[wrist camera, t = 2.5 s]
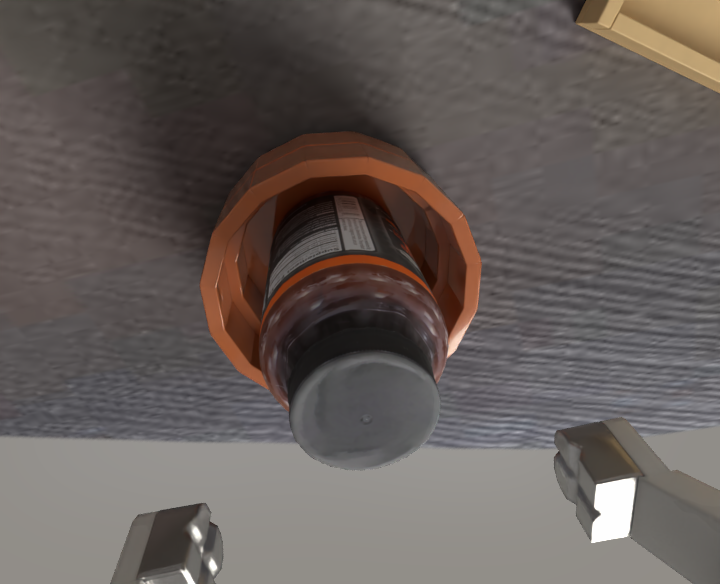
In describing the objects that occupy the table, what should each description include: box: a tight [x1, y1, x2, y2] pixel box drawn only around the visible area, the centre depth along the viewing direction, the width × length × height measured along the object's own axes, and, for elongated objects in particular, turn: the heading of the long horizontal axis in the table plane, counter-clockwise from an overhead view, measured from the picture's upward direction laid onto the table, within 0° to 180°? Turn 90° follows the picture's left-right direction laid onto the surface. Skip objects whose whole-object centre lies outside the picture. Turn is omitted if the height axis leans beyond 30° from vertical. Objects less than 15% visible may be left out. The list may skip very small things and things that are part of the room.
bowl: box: [200, 131, 482, 390], centre depth 21 cm, size 10×10×5 cm
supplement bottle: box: [259, 191, 449, 470], centre depth 18 cm, size 6×6×11 cm
